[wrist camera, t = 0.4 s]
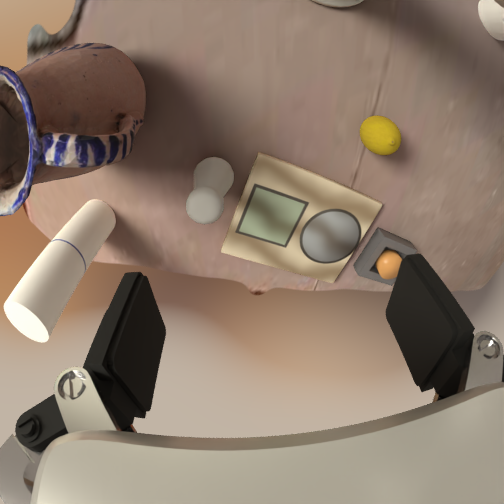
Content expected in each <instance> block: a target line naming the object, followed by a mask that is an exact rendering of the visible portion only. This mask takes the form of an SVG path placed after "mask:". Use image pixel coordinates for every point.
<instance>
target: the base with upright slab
mask: <svg viewBox="0 0 504 504" xmlns="http://www.w3.org/2000/svg"><path fill="white" fill-rule="evenodd" d="M478 12H479V16H480V19H481V21H482V23H483V25H484V27H485V29H486V30H487V31H488V33H489V34H490V35H491V36H492V37H494V38H495V39H497V40H502V41H504V8H503V7H501V6H500V5H499V4H498V3H496V2H495V1H494V0H480V1H479V4H478Z"/></svg>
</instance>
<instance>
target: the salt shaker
mask: <svg viewBox="0 0 504 504" xmlns="http://www.w3.org/2000/svg"><path fill="white" fill-rule="evenodd" d="M233 182H234V172H233V170H232V168H231V165H230V164H229V163H228V162H226V161H225V160H224V159H221V158H217V157H210V158H206V159H204V160H203V161H201V162H200V163H199V164H198V165H197V167H196V169H195V171H194V190H193V191H192V192H191V193H190V194H189V197H188V199H187V201H186V212H187V213H188V215H189V217H190V218H191V219H192V220H194V221H195V222H196V223H200V224H210V223H213V222H215V221H216V220H218V219H219V217H220V216H221V214H222V212H223V210H224V200H223V197H224V196H225V194H226V193H227V192H228V190H229V189H230V187H231V186H232V184H233Z"/></svg>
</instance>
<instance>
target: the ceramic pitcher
mask: <svg viewBox="0 0 504 504" xmlns="http://www.w3.org/2000/svg"><path fill="white" fill-rule="evenodd" d="M145 106H146V90H145V85H144V81H143V79H142V77H141V75H140V73H139V71H138V70H137V68H136V66H135V65H134V64H133V62H132V61H131V60H130V59H129V58H128V56H126V55H125V54H124V53H123V52H122V51H120V50H118V49H116V48H115V47H112V46H109V45H106V44H100V43H84V44H77V45H72V46H68V47H65V48H62V49H59V50H56V51H54V52H51V53H49V54H47V55H45V56H43V57H41V58H39V59H37V60H35V61H34V62H32V63H30V64H28V65H27V66H25V67H24V68H23V69H21V70H19V71H17V72H16V73H15V72H14V71H12V70H11V69H9V68H8V67H4V66H0V216H6V215H11V214H13V213H15V212H16V211H17V210H18V209H19V208H20V207H21V206H22V204H23V203H24V202H25V200H26V199H27V198H28V196H29V194H30V190H31V186H32V185H34V184H38V183H43V182H48V181H53V180H58V179H64V178H69V177H75V176H79V175H82V174H86V173H89V172H92V171H94V170H97V169H99V168H101V167H103V166H105V165H110V164H113V163H116V162H119V161H121V160H122V159H124V158H125V157H126V156H127V155H128V154H129V153H130V152H131V150H132V148H133V144H134V138H135V135H136V133H137V132H138V130H139V128H140V126H142V125H143V124H144V119H143V117H144V113H145Z"/></svg>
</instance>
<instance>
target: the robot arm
mask: <svg viewBox="0 0 504 504" xmlns="http://www.w3.org/2000/svg"><path fill="white" fill-rule="evenodd" d="M312 1H314V2H316V3H318V4H322V5H325V6H330V7H339V8H343V7H350V6H354V5H357V4H359V3H361V2H362V1H364V0H356V1H355V0H312ZM494 1H495V2H496V3H498V4H499V5H500V6H501V7H503V8H504V0H494ZM386 318H387V321H388V323H389V324H390V327H391V329H392V331H393V333H394V335H395V338H396V340H397V342H398V344H399V346H400V349H401V351H402V353H403V356H404V358H405V360H406V363H407V365H408V367H409V370H410V372H411V374H412V377H413V380H414V382H415V384H416V385H417V386H419V387H420V389H421V392H424V391H426V390H430V389H432V388H433V387H434V389H435V391H436V393H435V396H434V399H433V402H432V403H430V404H427V405H424V406H422V407H419V408H415V409H412V410H409V411H406V412H402V413H399V414H396V415H392V416H389V417H384V418H381V419H377V420H373V421H368V422H364V423H360V424H355V425H350V426H345V427H339V428H334V429H328V430H322V431H315V432H309V433H301V434H291V435H281V436H268V437H251V438H194V437H176V436H161V435H152V434H142V433H137V431H136V430H135V428H134V427H133V425H132V424H133V420H134V417H138V418H145V415H146V411H150V409H151V405H152V399H153V394H154V389H155V383H156V378H157V373H158V368H159V364H160V359H161V354H162V349H163V344H164V340H165V336H166V329H165V325H164V322H163V320H162V317H161V315H160V312H159V309H158V306H157V304H156V301H155V298H154V295H153V292H152V289H151V287H150V284H149V281H148V278H147V276H143V274H142V273H141V272H131V273H125V274H124V276H123V278H122V280H121V282H120V284H119V286H118V289H117V291H116V293H115V295H114V297H113V299H112V302H111V304H110V306H109V308H108V310H107V311H106V313H105V315H104V317H103V319H102V321H101V324H100V326H99V328H98V331H97V333H96V336H95V338H94V340H93V343H92V345H91V348H90V350H89V353H88V355H87V358H86V360H85V363H84V366H83V368H81V367H70V368H68V369H66V370H64V371H63V372H61V374H60V375H59V376H58V377H57V379H56V381H55V385H54V393H55V394H53V395H52V396H50V397H48V398H47V399H45V400H44V401H42V402H41V403H39V404H37V405H36V406H34V407H33V408H31V409H29V410H28V411H26V412H25V413H23V414H22V415H21V416H20V417H19V419H18V420H17V423H16V430H15V432H16V436H14V435H13V434H12V435H11V436H10V437H9V439H8V440H7V441H6V442H5V443H4V444H3V445H2V447H1V448H0V497H1V498H2V500H3V501H4V503H5V504H504V355H503V347H502V344H501V342H500V341H499V339H498V338H497V337H496V336H495V335H494V334H492V333H490V332H486V331H481V332H478V333H477V334H476V335H475V336H474V334H473V331H474V329H475V328H474V326H473V325H472V323H471V322H470V320H469V319H468V317H467V316H466V314H465V313H464V311H463V310H462V308H461V307H460V305H459V304H458V302H457V301H456V299H455V298H454V297H453V295H452V294H451V292H450V291H449V290H448V288H447V287H446V285H445V284H444V283H443V281H442V280H441V279H440V277H439V276H438V275H437V273H436V272H435V271H434V270H433V268H432V267H431V266H430V264H429V263H428V262H427V261H426V259H425V258H424V257H423V256H422V255H421V254H410V255H406V256H405V258H404V259H403V260H402V261H401V264H400V267H399V271H398V274H397V278H396V281H395V284H394V287H393V291H392V294H391V297H390V300H389V303H388V306H387V309H386Z"/></svg>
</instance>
